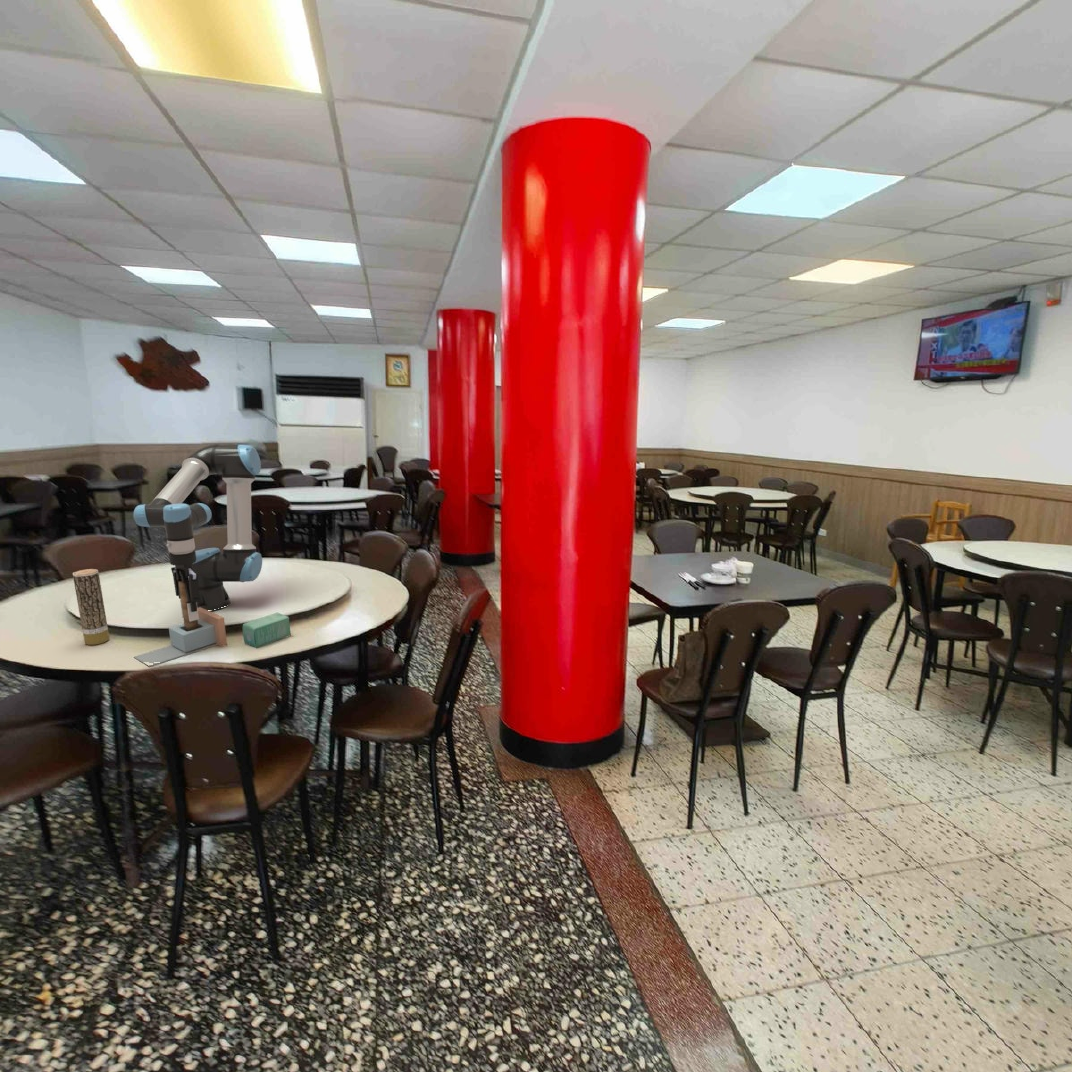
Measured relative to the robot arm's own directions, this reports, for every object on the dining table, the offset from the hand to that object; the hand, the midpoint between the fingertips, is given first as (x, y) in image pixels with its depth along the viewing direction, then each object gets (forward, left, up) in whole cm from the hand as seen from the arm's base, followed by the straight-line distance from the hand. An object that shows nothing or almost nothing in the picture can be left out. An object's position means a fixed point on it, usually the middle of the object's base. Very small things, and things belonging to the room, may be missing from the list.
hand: (190, 618), depth 195 cm
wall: (-6, 0, -10) cm, 12 cm away
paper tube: (+18, -29, -10) cm, 36 cm away
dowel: (0, 0, -5) cm, 5 cm away
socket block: (0, 0, -10) cm, 10 cm away
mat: (+5, 0, -10) cm, 11 cm away
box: (-18, +15, -10) cm, 25 cm away
